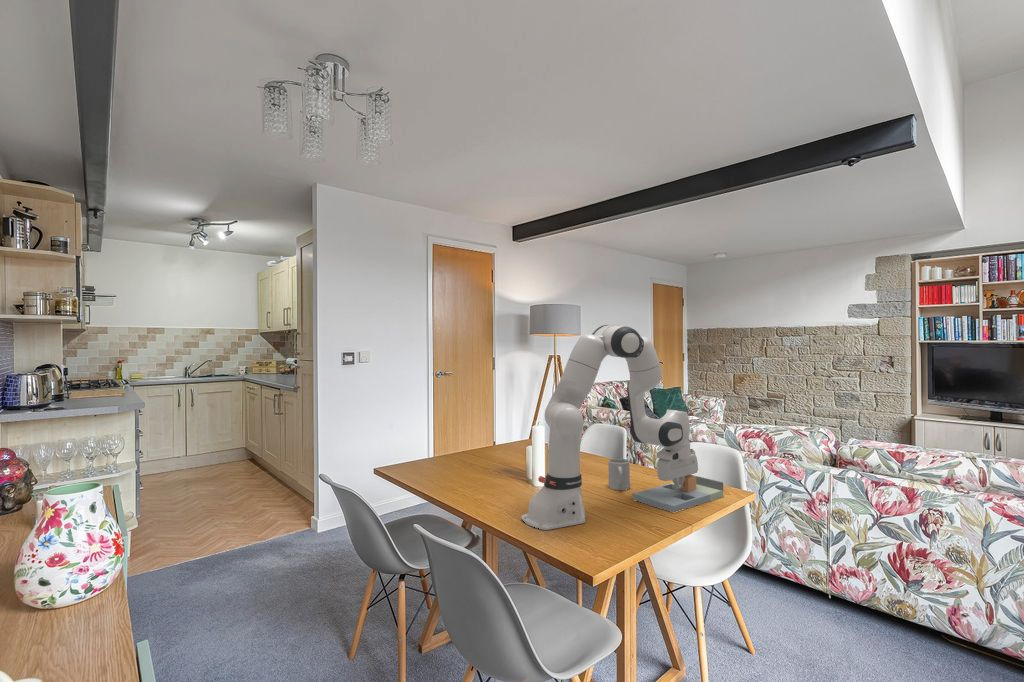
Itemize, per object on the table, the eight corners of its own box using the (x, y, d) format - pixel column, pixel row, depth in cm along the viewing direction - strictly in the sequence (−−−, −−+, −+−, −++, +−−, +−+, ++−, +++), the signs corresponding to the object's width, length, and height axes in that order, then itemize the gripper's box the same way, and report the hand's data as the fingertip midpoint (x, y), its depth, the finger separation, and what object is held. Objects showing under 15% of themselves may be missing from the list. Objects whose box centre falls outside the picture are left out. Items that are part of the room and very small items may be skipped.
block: (688, 491, 179) (688, 478, 180) (676, 488, 184) (676, 475, 184) (696, 489, 182) (696, 476, 182) (684, 486, 186) (684, 473, 187)
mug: (607, 484, 200) (607, 458, 200) (628, 484, 199) (628, 458, 199) (610, 493, 188) (609, 465, 188) (632, 493, 187) (631, 465, 187)
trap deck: (673, 513, 164) (673, 497, 164) (632, 500, 179) (632, 485, 179) (723, 496, 181) (723, 482, 181) (682, 486, 196) (682, 472, 196)
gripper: (687, 446, 189) (688, 481, 189) (653, 454, 177) (654, 491, 177) (701, 449, 184) (702, 485, 183) (667, 457, 172) (668, 495, 172)
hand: (678, 488), depth 180 cm, fingers closed
